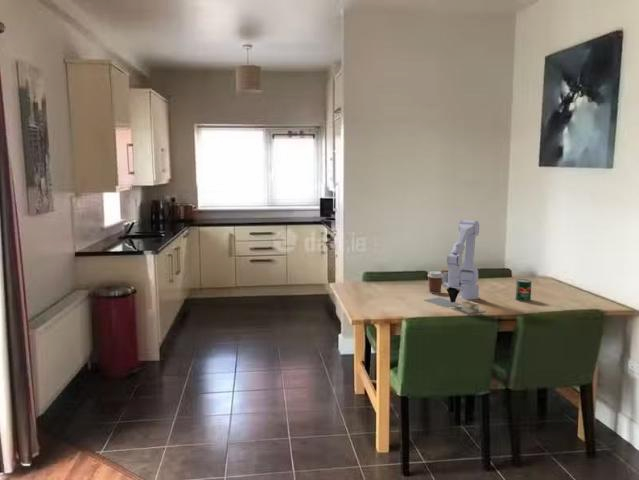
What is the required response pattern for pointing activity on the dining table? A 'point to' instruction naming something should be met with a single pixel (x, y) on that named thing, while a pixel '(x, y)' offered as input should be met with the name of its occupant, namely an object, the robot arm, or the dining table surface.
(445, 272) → the tin
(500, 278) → the dining table surface
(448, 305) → the slide mat
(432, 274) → the coffee cup
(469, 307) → the ash block
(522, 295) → the canned tomato
